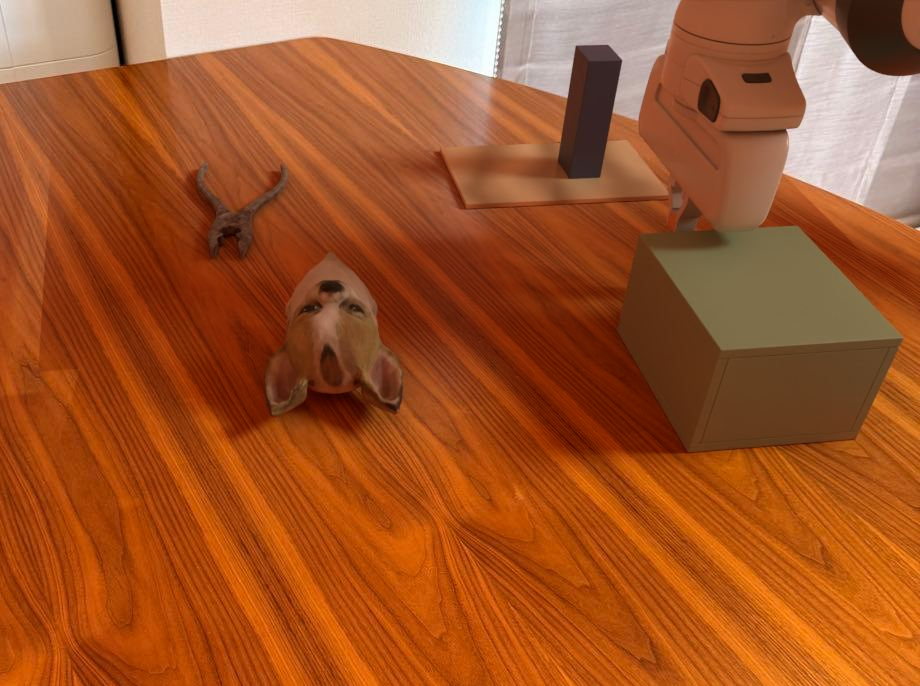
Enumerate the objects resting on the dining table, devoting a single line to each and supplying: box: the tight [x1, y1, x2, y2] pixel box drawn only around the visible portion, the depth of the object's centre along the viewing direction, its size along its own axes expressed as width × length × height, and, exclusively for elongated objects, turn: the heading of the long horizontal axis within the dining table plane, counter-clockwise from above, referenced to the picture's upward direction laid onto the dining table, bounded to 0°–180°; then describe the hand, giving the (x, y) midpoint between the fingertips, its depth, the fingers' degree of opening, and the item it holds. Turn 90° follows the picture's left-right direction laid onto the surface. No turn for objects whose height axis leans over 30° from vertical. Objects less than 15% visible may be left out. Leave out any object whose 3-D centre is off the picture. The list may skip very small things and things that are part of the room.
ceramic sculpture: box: [262, 251, 404, 418], centre depth 75 cm, size 11×9×15 cm
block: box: [558, 44, 623, 179], centre depth 102 cm, size 4×4×12 cm
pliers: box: [195, 161, 289, 259], centre depth 98 cm, size 10×1×20 cm
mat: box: [439, 139, 669, 210], centre depth 106 cm, size 22×14×1 cm, turn 99°
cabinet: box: [616, 225, 904, 454], centre depth 76 cm, size 17×14×9 cm
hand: (679, 230), depth 86 cm, fingers closed
